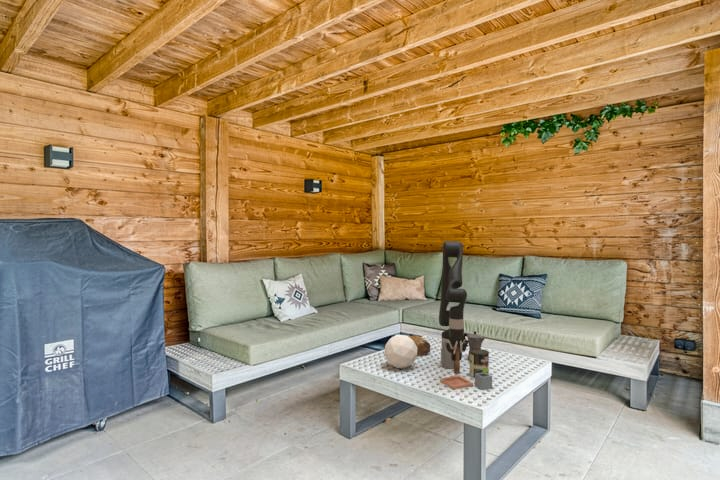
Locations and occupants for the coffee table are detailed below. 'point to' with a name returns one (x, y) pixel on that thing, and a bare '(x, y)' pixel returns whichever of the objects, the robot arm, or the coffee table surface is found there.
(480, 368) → the coffee can
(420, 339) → the petrified wood
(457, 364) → the dowel
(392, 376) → the coffee table surface
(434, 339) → the coffee table surface
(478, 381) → the holder
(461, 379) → the tray
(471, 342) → the coffeepot
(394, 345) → the geometric orb
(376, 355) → the coffee table surface
